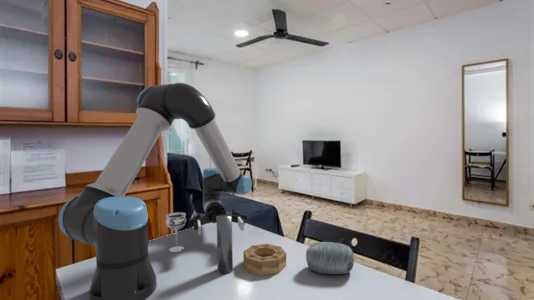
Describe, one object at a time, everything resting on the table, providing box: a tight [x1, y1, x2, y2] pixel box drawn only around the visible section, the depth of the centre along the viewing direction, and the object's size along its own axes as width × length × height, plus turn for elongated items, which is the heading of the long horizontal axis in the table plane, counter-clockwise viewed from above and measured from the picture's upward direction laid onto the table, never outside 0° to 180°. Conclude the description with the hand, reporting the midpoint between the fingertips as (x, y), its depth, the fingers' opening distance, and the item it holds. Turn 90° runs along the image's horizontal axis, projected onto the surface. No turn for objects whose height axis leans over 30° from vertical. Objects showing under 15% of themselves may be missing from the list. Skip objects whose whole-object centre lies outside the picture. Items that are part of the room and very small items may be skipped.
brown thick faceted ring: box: [243, 243, 287, 277], centre depth 86 cm, size 12×12×4 cm
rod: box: [216, 214, 234, 275], centre depth 82 cm, size 4×4×16 cm
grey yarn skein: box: [305, 241, 355, 275], centre depth 82 cm, size 14×10×10 cm
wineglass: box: [165, 211, 187, 253], centre depth 98 cm, size 7×7×12 cm
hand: (221, 228), depth 91 cm, fingers open, 13 cm apart
